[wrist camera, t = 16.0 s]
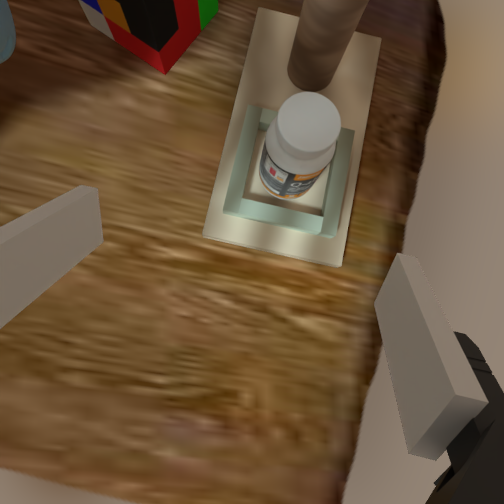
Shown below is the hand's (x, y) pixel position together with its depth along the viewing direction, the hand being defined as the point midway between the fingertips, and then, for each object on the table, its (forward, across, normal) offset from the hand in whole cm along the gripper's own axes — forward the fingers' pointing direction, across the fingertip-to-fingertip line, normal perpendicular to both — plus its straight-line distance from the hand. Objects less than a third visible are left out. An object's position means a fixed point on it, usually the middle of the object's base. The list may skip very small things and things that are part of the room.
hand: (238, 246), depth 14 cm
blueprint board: (+25, +1, 0) cm, 25 cm away
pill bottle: (+20, +1, -3) cm, 21 cm away
